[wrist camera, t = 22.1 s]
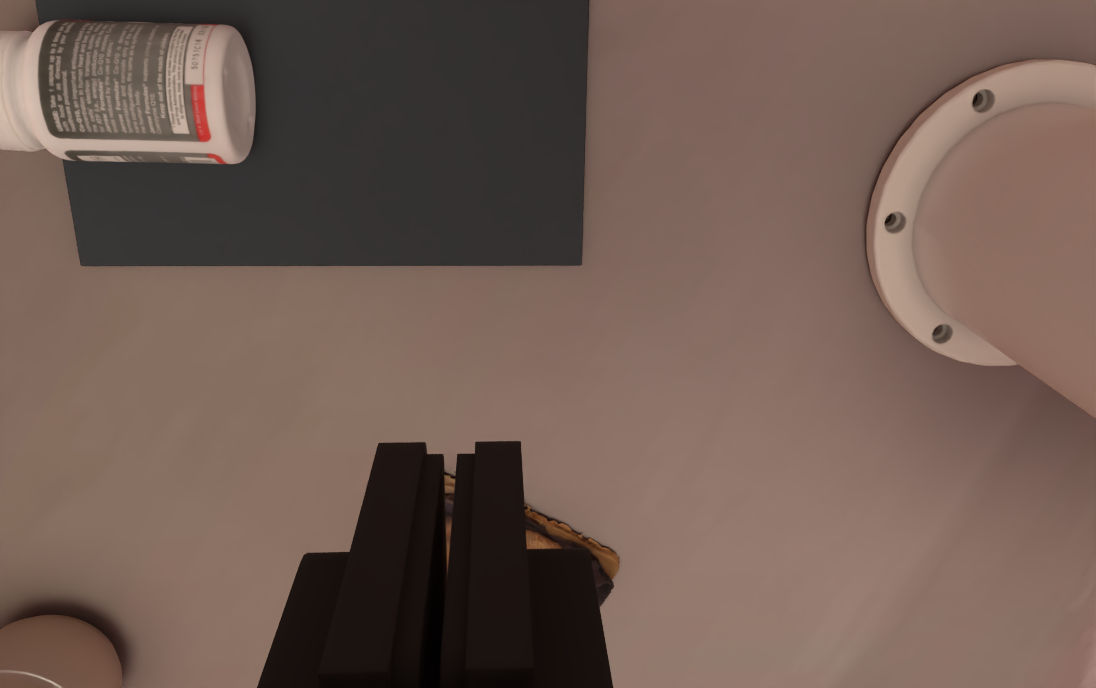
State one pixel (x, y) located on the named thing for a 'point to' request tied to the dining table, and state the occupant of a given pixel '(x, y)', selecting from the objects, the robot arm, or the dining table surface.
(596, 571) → the bread roll
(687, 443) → the dining table surface
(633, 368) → the dining table surface
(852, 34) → the dining table surface
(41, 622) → the plastic bottle
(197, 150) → the pill bottle
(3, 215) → the dining table surface
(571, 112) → the mat
